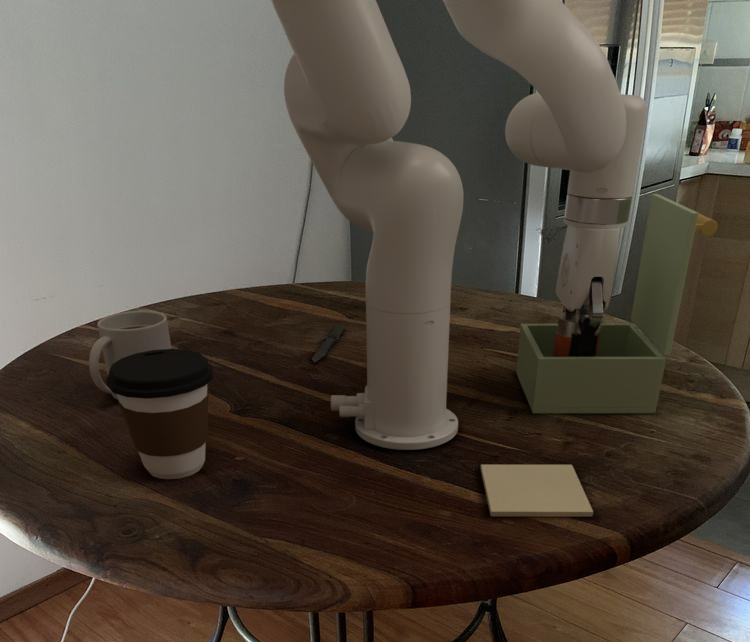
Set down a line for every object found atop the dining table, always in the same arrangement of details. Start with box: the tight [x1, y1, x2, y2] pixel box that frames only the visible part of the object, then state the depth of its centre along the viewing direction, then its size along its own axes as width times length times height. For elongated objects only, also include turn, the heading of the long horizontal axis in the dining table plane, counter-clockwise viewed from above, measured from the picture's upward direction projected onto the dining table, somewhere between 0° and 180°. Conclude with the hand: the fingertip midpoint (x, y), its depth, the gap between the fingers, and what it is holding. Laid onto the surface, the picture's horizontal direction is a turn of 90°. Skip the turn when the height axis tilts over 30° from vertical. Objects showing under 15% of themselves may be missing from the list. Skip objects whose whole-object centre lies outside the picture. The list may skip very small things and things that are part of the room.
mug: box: [88, 310, 172, 401], centre depth 99 cm, size 11×10×10 cm
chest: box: [516, 322, 667, 414], centre depth 98 cm, size 16×15×7 cm
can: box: [553, 311, 604, 357], centre depth 97 cm, size 6×6×9 cm
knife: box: [311, 322, 346, 364], centre depth 118 cm, size 18×1×3 cm
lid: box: [630, 193, 718, 356], centre depth 92 cm, size 16×15×5 cm
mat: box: [480, 464, 594, 518], centre depth 76 cm, size 10×10×1 cm
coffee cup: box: [105, 348, 214, 480], centre depth 79 cm, size 11×11×12 cm
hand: (575, 354), depth 97 cm, fingers closed on can, 5 cm apart
